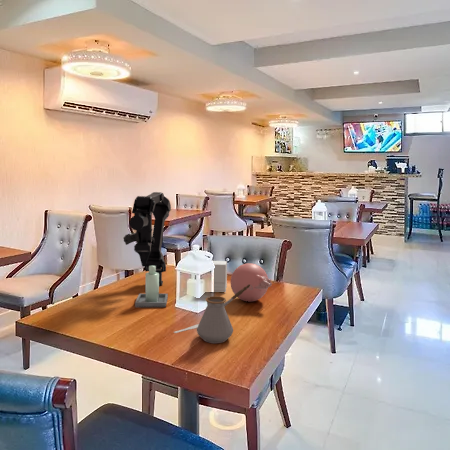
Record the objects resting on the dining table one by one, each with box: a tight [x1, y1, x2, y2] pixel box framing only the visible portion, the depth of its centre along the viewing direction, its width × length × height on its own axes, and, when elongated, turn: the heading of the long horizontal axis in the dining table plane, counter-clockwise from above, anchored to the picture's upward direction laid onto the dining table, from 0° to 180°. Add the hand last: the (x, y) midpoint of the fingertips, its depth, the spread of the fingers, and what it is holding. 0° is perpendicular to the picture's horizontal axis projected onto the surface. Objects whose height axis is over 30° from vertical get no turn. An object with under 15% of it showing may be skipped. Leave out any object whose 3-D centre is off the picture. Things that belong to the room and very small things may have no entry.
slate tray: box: [134, 293, 169, 308], centre depth 162 cm, size 12×12×2 cm
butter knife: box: [173, 323, 199, 334], centre depth 133 cm, size 1×24×3 cm
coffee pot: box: [196, 284, 253, 344], centre depth 132 cm, size 21×12×15 cm, turn 132°
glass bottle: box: [144, 265, 160, 302], centre depth 161 cm, size 5×5×14 cm
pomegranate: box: [230, 262, 273, 303], centre depth 164 cm, size 15×20×15 cm
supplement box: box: [212, 260, 228, 293], centre depth 179 cm, size 7×7×13 cm
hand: (144, 263), depth 171 cm, fingers open, 9 cm apart
